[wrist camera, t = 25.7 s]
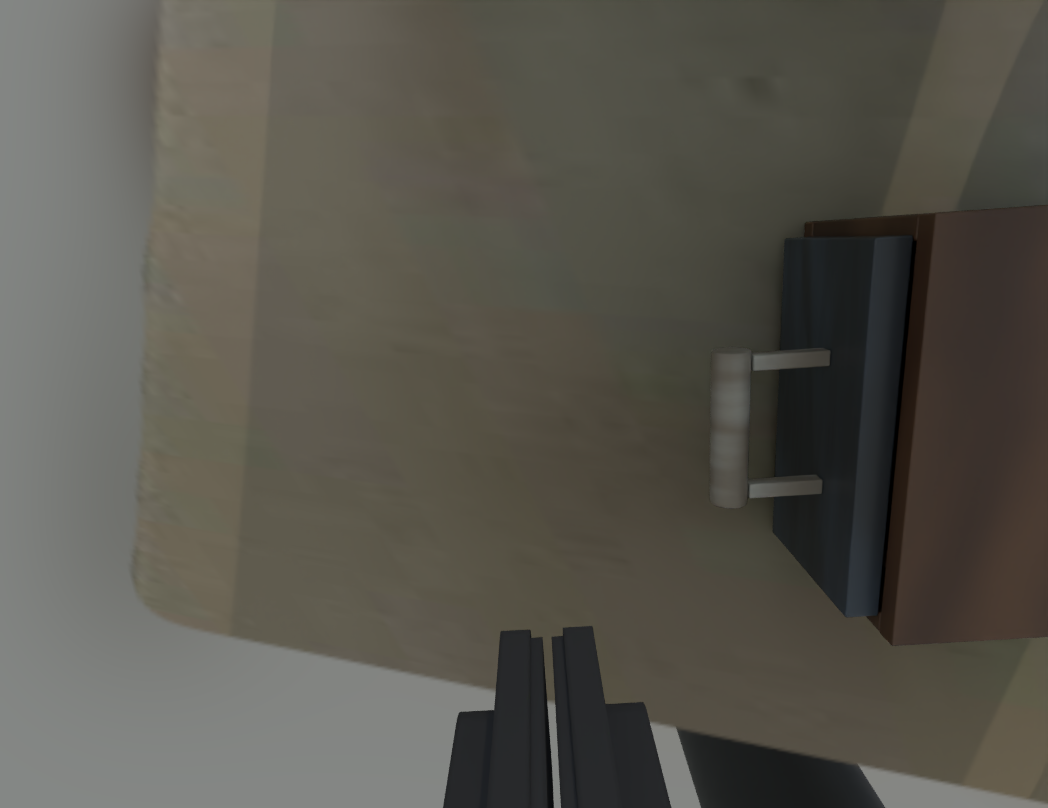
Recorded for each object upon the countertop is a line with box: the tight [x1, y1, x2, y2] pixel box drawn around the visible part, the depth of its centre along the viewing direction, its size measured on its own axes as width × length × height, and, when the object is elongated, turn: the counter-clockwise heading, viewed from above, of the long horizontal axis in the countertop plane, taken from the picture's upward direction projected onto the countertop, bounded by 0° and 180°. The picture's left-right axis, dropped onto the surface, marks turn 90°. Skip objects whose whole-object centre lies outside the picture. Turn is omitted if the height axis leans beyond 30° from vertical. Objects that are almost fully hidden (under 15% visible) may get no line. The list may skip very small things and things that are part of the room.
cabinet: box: [804, 205, 1048, 646], centre depth 24 cm, size 15×15×9 cm
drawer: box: [709, 235, 916, 617], centre depth 24 cm, size 18×13×7 cm
